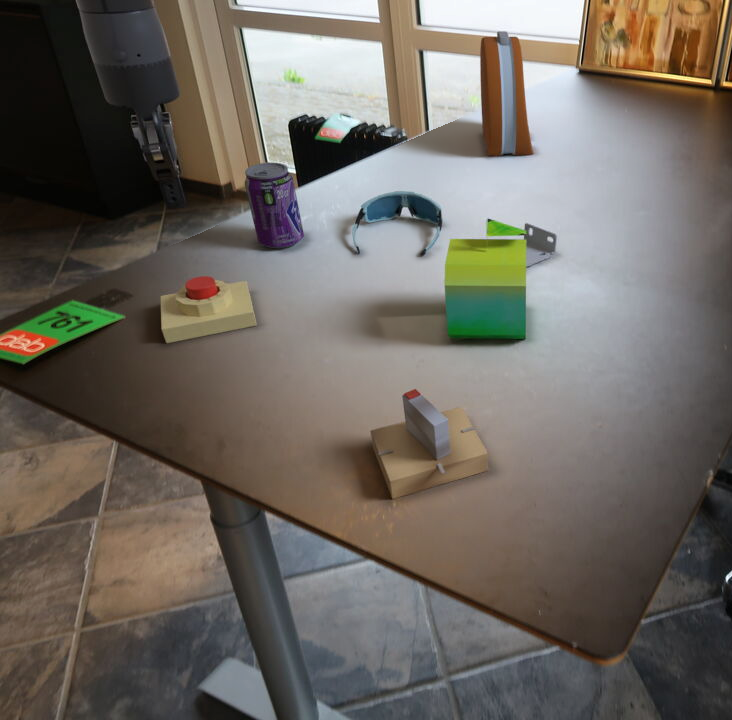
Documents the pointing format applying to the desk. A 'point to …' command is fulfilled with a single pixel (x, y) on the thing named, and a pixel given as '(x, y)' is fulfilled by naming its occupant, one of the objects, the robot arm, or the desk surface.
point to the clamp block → (428, 456)
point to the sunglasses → (400, 210)
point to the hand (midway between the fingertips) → (176, 206)
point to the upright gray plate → (426, 424)
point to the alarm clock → (503, 96)
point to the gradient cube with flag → (487, 285)
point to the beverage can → (273, 205)
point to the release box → (206, 312)
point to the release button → (201, 288)
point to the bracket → (538, 244)
